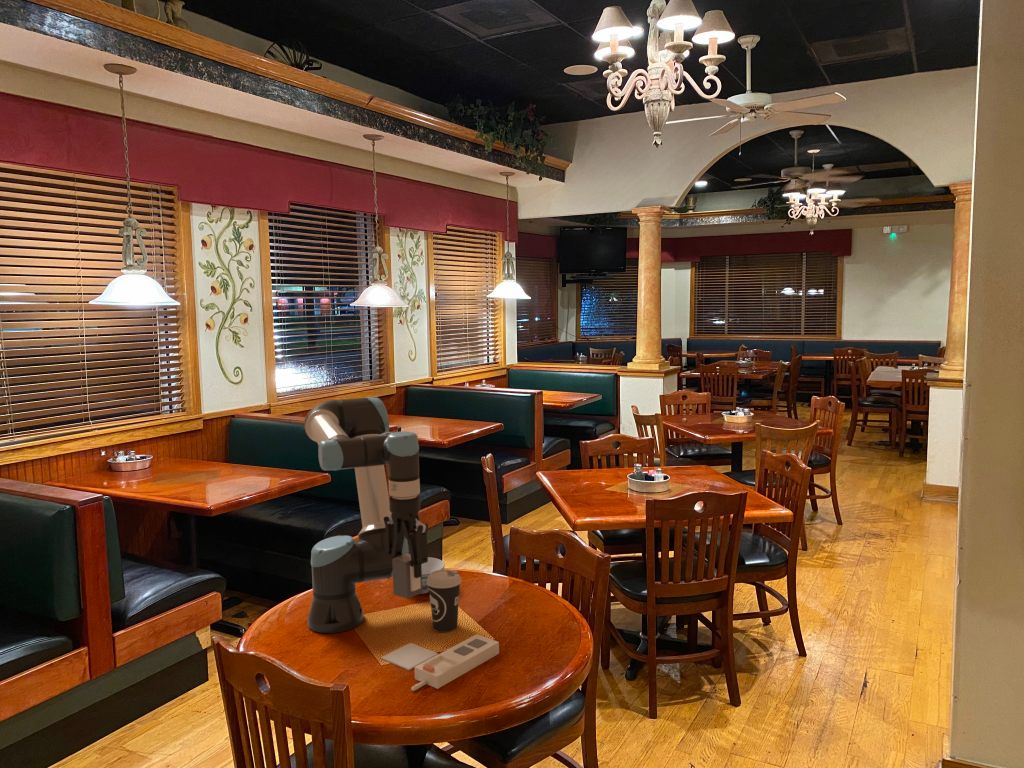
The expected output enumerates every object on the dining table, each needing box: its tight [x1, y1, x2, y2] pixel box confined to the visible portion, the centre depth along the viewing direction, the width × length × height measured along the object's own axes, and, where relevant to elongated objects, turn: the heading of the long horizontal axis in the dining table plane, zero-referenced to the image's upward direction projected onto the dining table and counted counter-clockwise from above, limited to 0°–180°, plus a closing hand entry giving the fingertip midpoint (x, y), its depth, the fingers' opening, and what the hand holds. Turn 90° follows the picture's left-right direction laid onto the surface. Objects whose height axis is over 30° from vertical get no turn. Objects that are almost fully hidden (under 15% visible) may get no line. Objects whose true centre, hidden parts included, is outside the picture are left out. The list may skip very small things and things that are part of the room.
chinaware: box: [419, 556, 445, 595], centre depth 235 cm, size 15×15×8 cm
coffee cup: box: [426, 568, 463, 633], centre depth 208 cm, size 10×10×15 cm
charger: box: [392, 552, 423, 600], centre depth 189 cm, size 5×5×9 cm
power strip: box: [411, 634, 500, 692], centre depth 184 cm, size 26×8×4 cm, turn 141°
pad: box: [380, 642, 439, 671], centre depth 192 cm, size 10×10×1 cm
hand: (407, 586), depth 189 cm, fingers closed on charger, 5 cm apart
